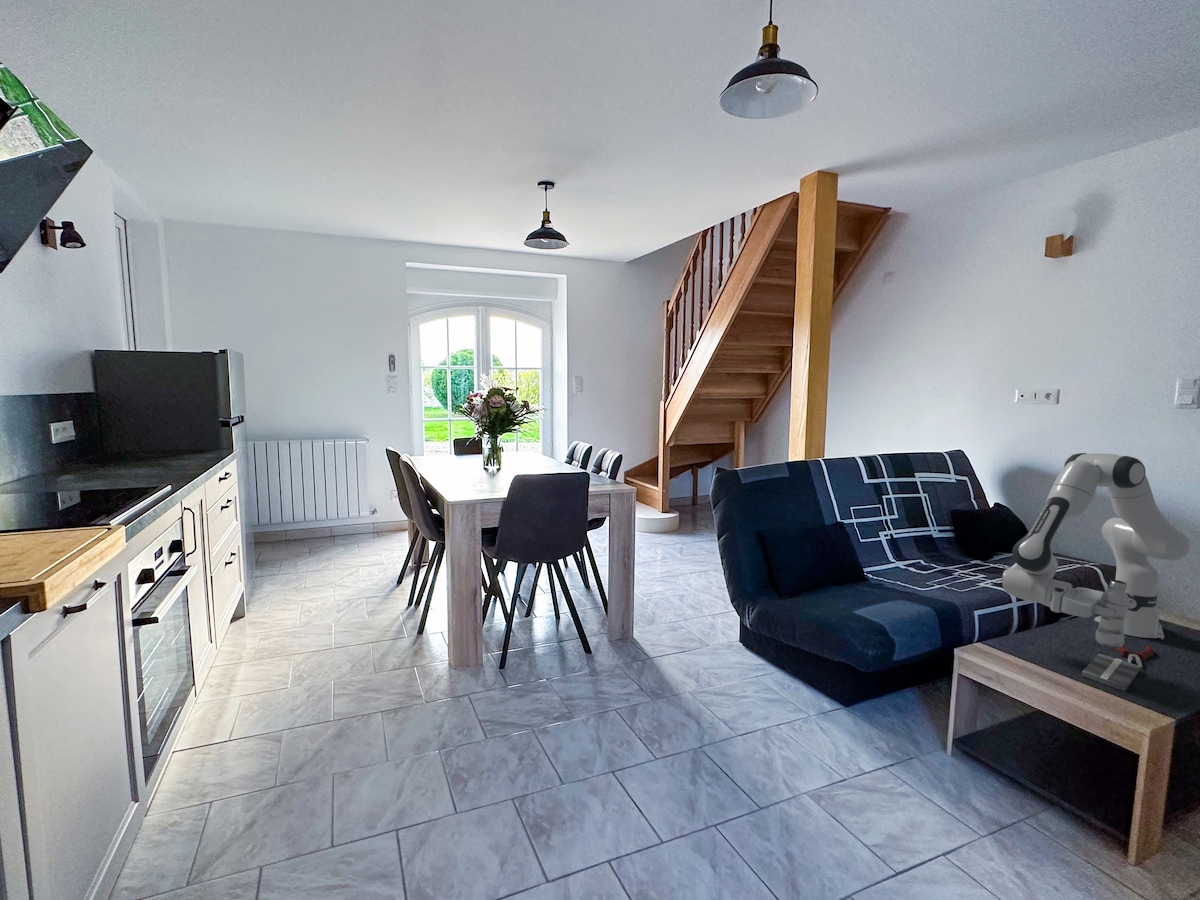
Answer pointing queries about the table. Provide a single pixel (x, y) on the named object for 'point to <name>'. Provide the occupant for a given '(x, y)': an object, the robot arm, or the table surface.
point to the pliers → (1135, 654)
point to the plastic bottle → (1113, 626)
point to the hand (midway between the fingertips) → (1118, 610)
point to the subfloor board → (1111, 671)
